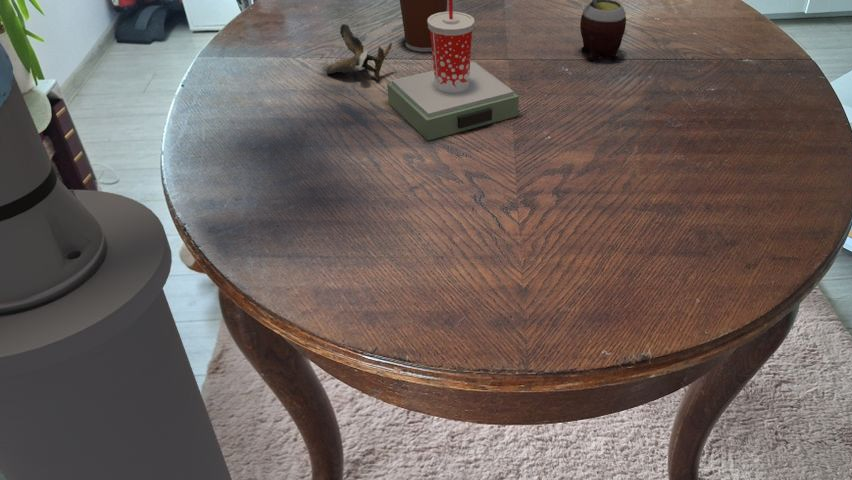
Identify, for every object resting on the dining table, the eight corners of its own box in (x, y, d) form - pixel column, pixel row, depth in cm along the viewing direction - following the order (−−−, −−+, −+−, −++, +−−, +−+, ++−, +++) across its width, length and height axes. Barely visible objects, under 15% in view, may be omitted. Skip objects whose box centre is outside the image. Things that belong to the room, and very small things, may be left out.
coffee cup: (402, 31, 123) (397, -44, 116) (456, 34, 123) (455, -41, 115) (392, 53, 116) (386, -25, 109) (449, 56, 116) (447, -22, 108)
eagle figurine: (397, 58, 112) (345, 37, 114) (388, 30, 105) (333, 9, 107) (374, 99, 111) (322, 78, 112) (364, 74, 104) (308, 52, 105)
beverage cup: (483, 88, 100) (484, -17, 91) (445, 99, 97) (442, -8, 88) (458, 72, 104) (457, -31, 95) (421, 82, 101) (416, -23, 92)
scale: (429, 142, 96) (428, 117, 93) (388, 103, 104) (386, 79, 101) (520, 117, 101) (521, 93, 99) (474, 82, 109) (474, 59, 107)
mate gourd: (628, 53, 119) (642, -45, 109) (606, 70, 114) (619, -31, 104) (587, 41, 122) (597, -54, 112) (564, 57, 117) (573, -41, 107)
